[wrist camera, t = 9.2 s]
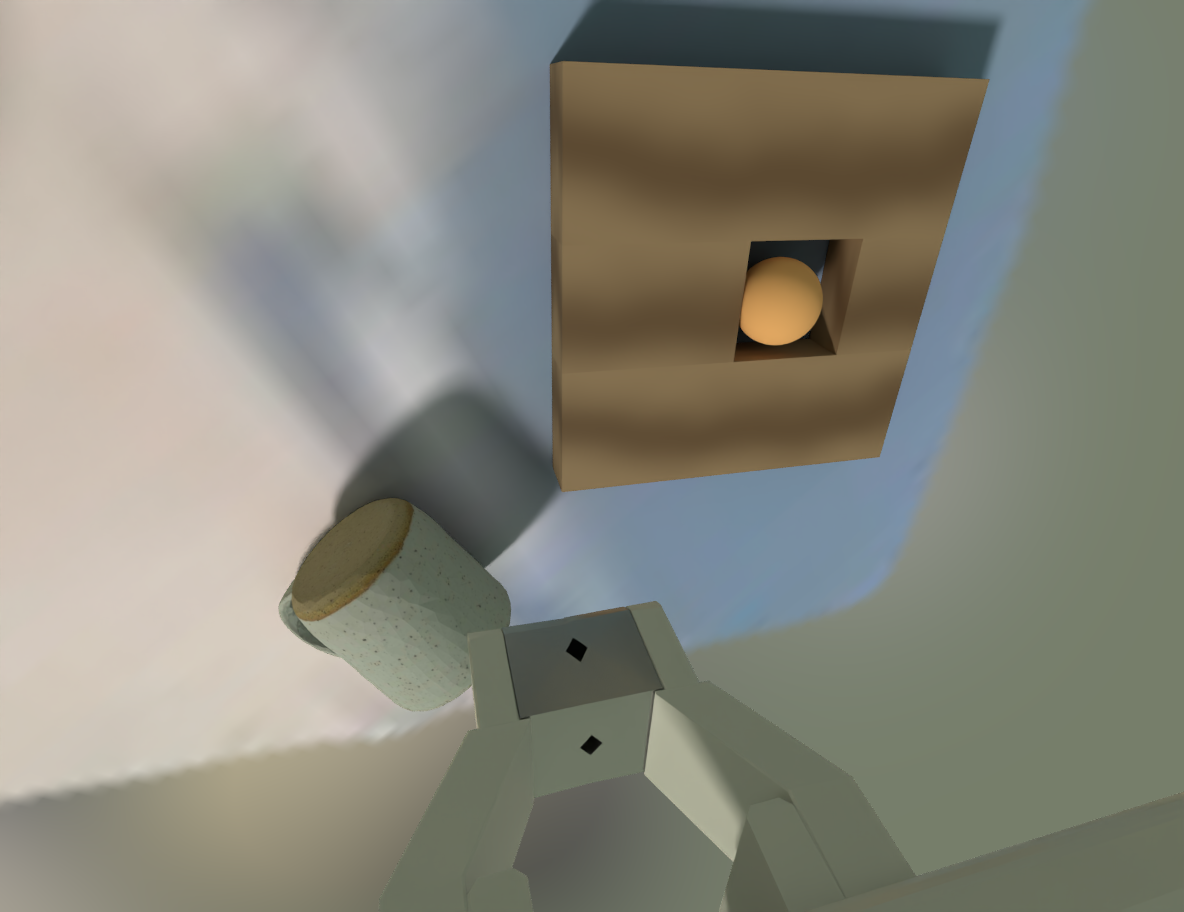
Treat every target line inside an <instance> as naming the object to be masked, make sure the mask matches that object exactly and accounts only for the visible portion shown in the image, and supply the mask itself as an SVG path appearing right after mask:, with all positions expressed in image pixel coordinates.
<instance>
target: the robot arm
mask: <svg viewBox="0 0 1184 912" xmlns="http://www.w3.org/2000/svg"><path fill="white" fill-rule="evenodd" d="M467 639H468V651H469V661H470V671H471V680H472V690H473V700H474V710H475V718H476V727H477V729H474V730H470V731H468V732H467V734H466V735H465V737H464V739H463V741H462V743H461V745H460V747H459V749H458V751H457V753H456V755H455V756H454V758H453V760H452V762H451V764H450V766H449V768H448V770H447V772H446V773H445V775H444V777H443V779H442V781H441V783H440V785H439V787H438V789H437V791H436V792H435V794H434V796H433V798H432V800H431V802H430V804H429V806H428V808H427V809H426V811H425V813H424V815H423V817H422V819H421V821H420V823H419V825H418V827H417V828H416V830H415V832H414V834H413V836H412V838H411V840H410V842H409V844H408V846H407V848H406V849H405V851H404V853H403V855H402V857H401V859H400V861H399V863H398V864H397V867H396V869H395V871H394V872H393V874H392V876H391V878H390V880H389V882H388V884H387V885H386V887H385V889H384V891H383V893H382V895H381V897H380V899H379V912H533V907H532V901H531V895H530V889H529V883H528V878H527V876H526V875H524V874H522V873H521V872H519V871H517V870H515V869H514V868H512V866H513V863H514V860H515V857H516V854H517V851H518V848H519V845H520V842H521V839H522V836H523V833H524V830H525V827H526V824H527V821H528V818H529V815H530V812H531V809H532V806H533V803H534V798H536V797H540V796H544V795H547V794H551V793H554V792H558V791H562V790H566V789H569V788H573V787H577V786H580V785H584V784H588V783H593V782H597V781H602V780H607V779H612V778H616V777H621V776H626V775H631V774H635V773H640V772H645V776H646V777H647V778H648V779H649V780H650V781H652V783H653V784H655V785H656V786H657V788H659V789H660V790H661V791H662V792H663V793H664V794H665V795H666V796H667V797H668V798H669V799H670V800H671V801H672V802H673V803H674V804H675V805H676V806H677V807H678V808H679V809H680V810H681V811H682V812H683V813H684V814H685V815H686V816H687V817H688V818H689V819H690V820H691V821H692V822H693V823H694V824H695V825H696V826H697V827H698V828H699V829H700V830H701V831H702V832H704V834H705V835H706V836H707V837H708V838H709V839H710V840H711V841H713V842H714V843H715V844H716V845H717V846H718V847H719V848H720V849H721V850H722V851H723V852H724V853H725V854H726V855H727V856H728V857H729V858H730V859H731V860H732V861H733V865H732V869H731V872H730V875H729V879H728V882H727V886H726V889H725V893H724V896H723V899H722V903H721V906H720V909H719V912H1184V792H1181V793H1178V794H1175V795H1171V796H1168V797H1165V798H1162V799H1159V800H1156V801H1152V802H1149V803H1146V804H1143V805H1140V806H1137V807H1133V808H1130V809H1127V810H1124V811H1121V812H1118V813H1114V814H1111V815H1108V816H1105V817H1102V818H1099V819H1096V820H1092V821H1089V822H1086V823H1083V824H1080V825H1076V826H1073V827H1070V828H1067V829H1064V830H1061V831H1058V832H1054V833H1051V834H1048V835H1045V836H1042V837H1039V838H1035V839H1032V840H1029V841H1026V842H1023V843H1020V844H1016V845H1013V846H1010V847H1007V848H1004V849H1000V850H997V851H994V852H991V853H988V854H985V855H981V856H978V857H975V858H972V859H969V860H966V861H963V862H959V863H956V864H953V865H950V866H947V867H944V868H941V869H937V870H934V871H931V872H928V873H925V874H922V875H918V876H916V875H915V873H914V872H913V870H912V869H911V867H910V866H909V864H908V862H907V861H906V859H905V858H904V856H903V855H902V853H901V852H900V850H899V848H898V847H897V846H896V844H895V842H894V841H893V839H892V838H891V836H890V835H889V833H888V831H887V830H886V828H885V827H884V825H883V824H882V822H881V821H880V819H879V817H878V816H877V814H876V813H875V811H874V810H873V808H872V807H871V805H870V803H869V802H868V800H867V799H866V797H865V796H864V794H863V793H862V791H861V790H860V788H859V787H858V785H857V783H856V782H855V780H854V779H853V777H852V776H851V775H849V774H848V773H846V772H845V771H843V770H842V769H840V768H839V767H837V766H836V765H834V764H833V763H831V762H830V761H828V760H827V759H825V758H824V757H822V756H821V755H819V754H818V753H816V752H815V751H813V750H812V749H810V748H809V747H807V746H806V745H804V744H803V743H801V742H800V741H798V740H797V739H796V738H794V737H792V736H791V735H790V734H788V733H787V732H785V731H784V730H782V729H781V728H779V727H778V726H776V725H774V724H773V723H772V722H770V721H769V720H767V719H766V718H764V717H763V716H761V715H760V714H758V713H757V712H755V711H754V710H752V709H751V708H749V707H748V706H746V705H745V704H743V703H742V702H740V701H739V700H737V699H736V698H734V697H733V696H731V695H730V694H728V693H727V692H725V691H724V690H722V689H721V688H719V687H718V686H716V685H715V684H713V683H712V682H710V681H704V682H699V680H698V678H697V676H696V674H695V672H694V670H693V668H692V666H691V664H690V662H689V660H688V658H687V656H686V654H685V652H684V650H683V648H682V646H681V644H680V642H679V640H678V638H677V636H676V634H675V632H674V630H673V628H672V626H671V624H670V622H669V620H668V618H667V616H666V614H665V612H664V610H663V608H662V606H661V605H660V604H659V603H658V602H657V601H653V602H648V603H642V604H637V605H631V606H626V607H619V608H614V609H608V610H603V611H597V612H592V613H587V614H581V615H576V616H570V617H565V618H563V619H557V620H550V621H543V622H536V623H530V624H523V625H516V626H509V627H502V630H501V628H500V629H493V630H486V631H480V632H473V633H468V636H467Z"/></svg>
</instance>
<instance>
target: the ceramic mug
mask: <svg viewBox="0 0 1184 912" xmlns="http://www.w3.org/2000/svg"><path fill="white" fill-rule="evenodd" d="M279 614H280V617H281V620H282V621H283V622H284V624H285V625H286V626H287V628H288V629H290V631H291V632H292V633H294V634H295V635H296V636H297V637H298V638H299V639H301V640H302V641H304V642H305V643H307V644H309V645H311V646H312V647H314V648H316V649H318V650H320V651H323V652H325V653H327V654H330V655H333V656H337V657H341V658H343V659H344V660H345V661H346V662H347V663H349V664H350V665H351V666H352V667H353V668H355V669H356V670H357V671H358V672H359V673H360V674H361V675H362V676H363V677H364V678H366V679H367V680H368V681H369V682H371V683H372V684H373V685H374V686H375V687H376V688H377V689H379V690H380V691H381V692H382V693H384V694H385V695H386V696H387V697H388V698H389V699H391V700H392V701H393V702H394V703H396V704H397V705H399V706H401V707H402V708H404V709H407V710H410V711H429V710H432V709H435V708H438V707H441V706H443V705H445V704H446V703H448V702H451V701H452V700H454V699H455V698H457V697H458V696H460V695H461V694H462V693H463V692H465V691H466V690H467V689H469V688H470V687H471V686H472V680H471V671H470V661H469V651H468V639H467V636H468V633H473V632H480V631H486V630H493V629H500V628H501V630H502V627H509V624H510V616H511V606H510V600H509V597H508V594H507V591H506V590H505V589H504V587H503V586H502V585H501V583H499V582H498V581H497V580H496V579H495V578H494V577H493V576H492V575H491V574H489V573H488V572H487V571H486V570H485V569H484V568H483V567H482V566H481V565H480V564H479V563H478V562H477V561H476V560H475V559H474V558H473V557H472V556H471V555H470V554H469V553H467V552H466V551H465V550H464V549H463V548H462V547H461V546H460V545H459V544H458V543H457V542H456V541H454V540H453V539H452V538H451V537H450V536H449V535H448V534H447V533H446V532H445V531H444V530H443V529H442V528H441V527H440V526H439V525H438V524H437V523H436V522H435V521H434V520H433V519H432V518H431V517H430V516H428V515H427V514H426V513H425V512H423V511H421V510H420V509H418V508H417V507H415V506H414V505H413V504H411V503H409V502H407V501H406V500H402V499H398V498H387V499H381V500H377V501H373V502H371V503H369V504H367V505H365V506H363V507H361V508H359V509H357V510H356V511H354V512H353V513H352V514H350V515H349V516H347V517H346V518H344V519H343V520H342V521H341V522H340V523H339V524H337V525H336V526H335V527H334V528H333V529H331V530H330V531H329V532H328V533H327V535H326V536H325V537H324V538H323V539H322V540H321V541H320V542H319V543H318V544H317V546H316V547H315V548H314V549H313V550H312V552H311V553H310V554H309V555H308V557H307V559H306V560H305V562H304V563H303V565H302V566H301V568H300V570H299V572H298V573H297V575H296V578H295V579H294V580H293V582H292V583H291V585H290V586H289V588H288V589H287V591H286V592H285V594H284V596H283V597H282V599H281V601H280V604H279Z"/></svg>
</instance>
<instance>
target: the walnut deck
mask: <svg viewBox="0 0 1184 912" xmlns="http://www.w3.org/2000/svg"><path fill="white" fill-rule="evenodd" d="M988 83H989V79H967V78H944V77H920V76H897V75H874V74H851V73H827V72H804V71H781V70H757V69H734V68H711V67H687V66H664V65H641V64H618V63H594V62H571V61H561V62H557V63H553V64H550V153H551V293H552V433H553V469H554V472H555V474H556V477H557V480H558V482H559V485H560V488H561V491H562V492H567V491H577V490H586V489H595V488H604V487H613V486H622V485H631V484H640V483H649V482H658V481H667V480H676V479H685V478H694V477H703V476H712V475H721V474H730V473H739V472H748V471H757V470H766V469H775V468H784V467H794V466H803V465H812V464H821V463H830V462H839V461H848V460H857V459H866V458H875V457H880V453H881V450H882V447H883V443H884V440H885V436H886V433H887V429H888V426H889V423H890V419H891V416H892V412H893V409H894V405H895V402H896V399H897V395H898V392H899V388H900V385H901V381H902V378H903V375H904V371H905V368H906V364H907V361H908V357H909V354H910V350H911V347H912V344H913V340H914V337H915V333H916V330H917V326H918V323H919V320H920V316H921V313H922V309H923V306H924V302H925V299H926V296H927V292H928V289H929V285H930V282H931V278H932V275H933V271H934V268H935V265H936V261H937V258H938V254H939V251H940V247H941V244H942V241H943V237H944V234H945V230H946V227H947V223H948V220H949V217H950V213H951V210H952V206H953V203H954V199H955V196H956V193H957V189H958V186H959V182H960V179H961V175H962V172H963V168H964V165H965V162H966V158H967V155H968V151H969V148H970V144H971V141H972V138H973V134H974V131H975V127H976V124H977V120H978V117H979V114H980V110H981V107H982V103H983V100H984V96H985V93H986V89H987V86H988ZM829 239H830V241H829V246H828V251H827V255H826V260H825V265H824V270H823V275H822V280H821V288H822V293H823V304H822V309H821V312H820V315H819V317H818V319H817V321H816V323H815V324H814V326H813V327H812V329H811V333H810V338H809V339H797V340H795V341H793V342H791V343H788V344H783V345H767V344H763V343H759V342H744V343H736V341H737V334H738V327H739V320H740V313H741V307H742V300H743V293H744V286H745V279H746V272H747V265H748V258H749V251H750V245H751V241H785V240H829Z"/></svg>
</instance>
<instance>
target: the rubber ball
mask: <svg viewBox="0 0 1184 912" xmlns="http://www.w3.org/2000/svg"><path fill="white" fill-rule="evenodd" d="M822 304H823V293H822V288H821V284H820V282H819V279H818V277H817V276H816V274H815V273H814V272H813V271H812V269H811V268H809V267H808V266H807V265H806V264H804V263H803V262H801V261H799V260H796V259H793V258H789V257H773V258H769V259H766V260H763V261H761V262H759V263H757V264H755V265H754V266H753V267H751V268H750V269H749V270H748V271H747V272H746V279H745V286H744V293H743V300H742V307H741V313H740V320H739V326H740V328H741V329H742V330H743V332H744V333H745V334H746V335H748V336H749V337H750V338H752V339H753V340H755V341H757V342H759V343H763V344H767V345H783V344H788V343H791V342H793V341H795V340H797V339H799V338H801V337H802V336H804V335H805V334H806V333H807V332H808V331H809V330H810V329H811V328H812V327H813V326H814V324H815V323H816V321H817V319H818V317H819V315H820V312H821V309H822Z"/></svg>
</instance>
